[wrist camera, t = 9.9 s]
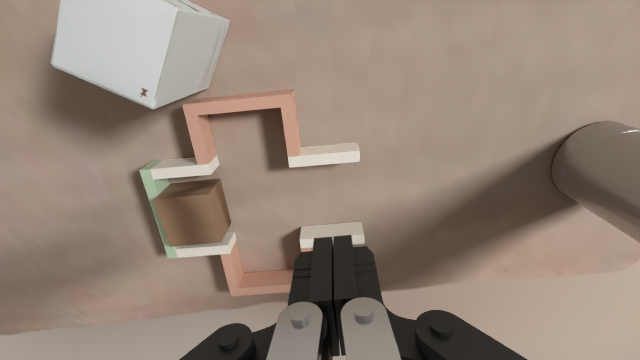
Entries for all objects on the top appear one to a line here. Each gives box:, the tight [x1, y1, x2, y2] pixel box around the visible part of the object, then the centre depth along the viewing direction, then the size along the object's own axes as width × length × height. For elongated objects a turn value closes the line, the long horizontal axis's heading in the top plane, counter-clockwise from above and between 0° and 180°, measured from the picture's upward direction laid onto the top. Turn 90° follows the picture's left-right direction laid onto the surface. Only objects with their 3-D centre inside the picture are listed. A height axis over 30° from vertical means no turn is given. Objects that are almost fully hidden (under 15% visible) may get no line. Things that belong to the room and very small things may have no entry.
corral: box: [139, 90, 365, 296], centre depth 39 cm, size 24×24×3 cm
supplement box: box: [51, 0, 230, 109], centre depth 28 cm, size 7×7×13 cm
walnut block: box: [154, 179, 231, 247], centre depth 39 cm, size 6×6×4 cm
